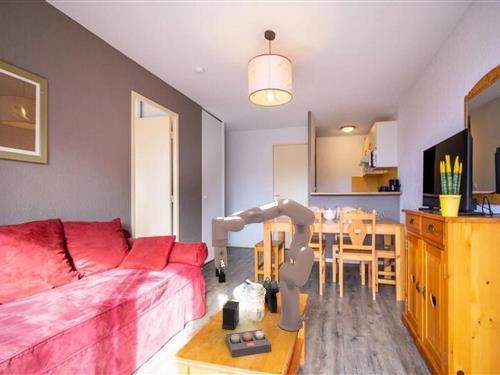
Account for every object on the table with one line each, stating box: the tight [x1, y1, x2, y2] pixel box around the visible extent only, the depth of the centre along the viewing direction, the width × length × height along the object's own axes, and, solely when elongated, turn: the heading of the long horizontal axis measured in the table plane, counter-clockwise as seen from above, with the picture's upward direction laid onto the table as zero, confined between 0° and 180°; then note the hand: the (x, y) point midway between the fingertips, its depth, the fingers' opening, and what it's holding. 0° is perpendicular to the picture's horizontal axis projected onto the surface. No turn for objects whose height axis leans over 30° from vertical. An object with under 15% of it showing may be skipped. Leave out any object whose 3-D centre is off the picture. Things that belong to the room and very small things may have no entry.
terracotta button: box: [244, 332, 252, 342], centre depth 123 cm, size 4×4×2 cm
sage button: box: [231, 334, 240, 344], centre depth 122 cm, size 4×4×2 cm
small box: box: [221, 300, 240, 331], centre depth 144 cm, size 11×6×10 cm, turn 168°
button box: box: [225, 329, 272, 358], centre depth 123 cm, size 17×14×3 cm
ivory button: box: [256, 330, 265, 340], centre depth 125 cm, size 4×4×2 cm
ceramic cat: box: [262, 273, 280, 314], centre depth 167 cm, size 20×6×20 cm, turn 13°
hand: (220, 279), depth 132 cm, fingers open, 9 cm apart
